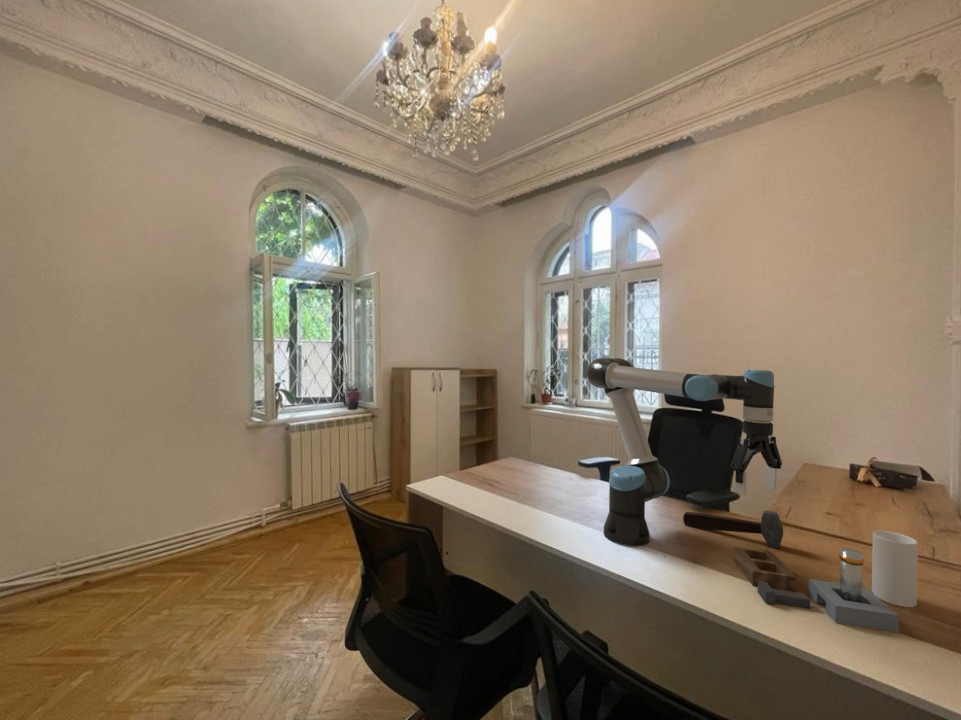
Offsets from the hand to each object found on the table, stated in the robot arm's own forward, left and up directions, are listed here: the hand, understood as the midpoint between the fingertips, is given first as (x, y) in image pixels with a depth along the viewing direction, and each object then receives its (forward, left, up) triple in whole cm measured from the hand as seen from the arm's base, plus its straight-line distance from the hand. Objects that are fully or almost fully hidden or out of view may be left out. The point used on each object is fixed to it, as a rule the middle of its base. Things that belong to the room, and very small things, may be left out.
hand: (755, 491), depth 120 cm
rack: (0, -5, -22) cm, 23 cm away
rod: (+14, -19, -22) cm, 32 cm away
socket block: (+14, -19, -22) cm, 32 cm away
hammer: (0, +22, -23) cm, 32 cm away
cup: (+29, -8, -23) cm, 38 cm away
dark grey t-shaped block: (0, -19, -22) cm, 29 cm away
